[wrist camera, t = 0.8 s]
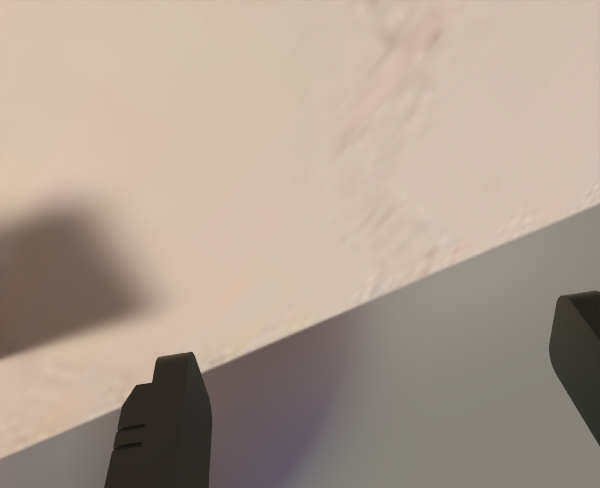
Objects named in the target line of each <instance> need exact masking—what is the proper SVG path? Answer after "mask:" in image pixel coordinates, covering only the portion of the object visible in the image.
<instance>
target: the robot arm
mask: <svg viewBox="0 0 600 488" xmlns="http://www.w3.org/2000/svg"><path fill="white" fill-rule="evenodd" d="M549 352H550V359H551V363H552V366H553V368H554V370H555V373H556V375H557V376H558V378H559V380H560V381H561V383H562V385H563V386H564V388H565V390H566V391H567V393H568V395H569V396H570V398H571V399H572V401H573V403H574V404H575V406H576V408H577V409H578V411H579V413H580V414H581V416H582V418H583V419H584V421H585V423H586V424H587V426H588V427H589V429H590V431H591V433H592V434H593V436H594V437H595V439H596V441H597V442H598V444H599V446H600V292H599V291H589V292H583V293H577V294H570V295H564V296H560V297H559V298H558V300H557V304H556V309H555V315H554V321H553V327H552V332H551V338H550V344H549ZM211 434H212V412H211V405H210V400H209V396H208V393H207V390H206V387H205V385H204V381H203V379H202V375H201V372H200V370H199V367H198V364H197V361H196V358H195V355H194V354H193V352H188V353H181V354H175V355H168V356H162V357H158V358H157V360H156V364H155V369H154V375H153V380H152V383H147V384H140V385H136V386H135V388H134V389H133V391H132V392H131V394H130V395H129V397H128V398H127V400H126V401H125V403H124V404H123V406H122V410H121V414H120V419H119V423H118V433H116V437H115V442H114V446H113V447H114V451H112V455H111V459H110V464H109V469H108V473H107V478H106V483H105V487H104V488H209V471H210V452H211Z"/></svg>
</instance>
